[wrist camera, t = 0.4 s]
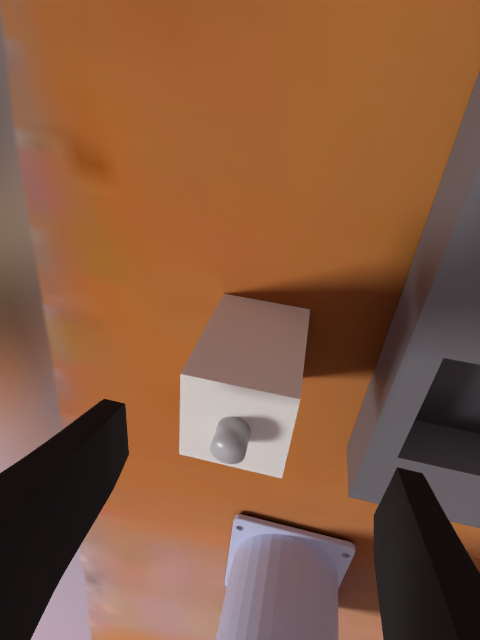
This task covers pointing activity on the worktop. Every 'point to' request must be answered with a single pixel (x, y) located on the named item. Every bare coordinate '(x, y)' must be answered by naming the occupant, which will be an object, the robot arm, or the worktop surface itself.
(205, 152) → the worktop surface
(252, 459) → the charger block
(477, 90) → the power strip
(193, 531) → the worktop surface
